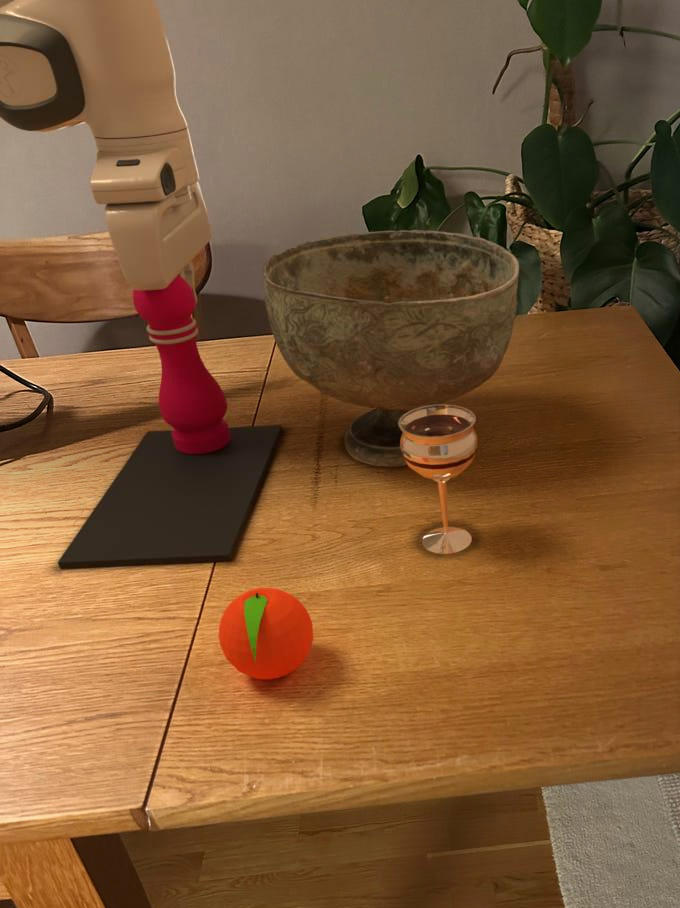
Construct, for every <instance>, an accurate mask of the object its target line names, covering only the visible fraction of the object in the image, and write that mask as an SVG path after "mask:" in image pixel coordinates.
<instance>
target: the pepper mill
mask: <svg viewBox="0 0 680 908" xmlns="http://www.w3.org/2000/svg"><path fill="white" fill-rule="evenodd" d="M132 301H133V306H134V308H135V311H136V313H137V314H138V316H139V317H140V318H142V319H143V320H144V321H145V322H146V323H148V324H147V326H146V332H147V333H148V339H149V341H150V342H152V343H154V344H155V346H156V349H157V351H158V354H159V359H160V365H161V376H160V377H161V378H160V383H159V391H158V407H159V412H160V416H161V418H162V420H163V421H164V422H165V423H166V424H167V425H168V426H170V427H172V428H173V429H172V430H173V431H172V437H173V440H174V444H175V447H176V449H177V450H178V451H180V452H182V453H185V454H193V455H196V454H205V453H210V452H213V451H216V450H219V449H221V448H223V447H224V446H226V445H227V444H228V443H229V442H230V440H231V435H230V431H229V427H230V426H229V422H227V421H226V420H224V417H225V416H226V414H227V412H228V401H227V398H226V395H225V392H224V391H223V388H222V387H221V386H220V384H219V382H218V381H217V379H216V378H215V377H214V376H213V375H212V374H211V372H210V371H209V370H208V368H207V367H206V366H205V364H204V361H203V360H202V357H201V354H200V351H199V348H198V344H197V337H196V336H198V334H199V329H198V327H197V321H196V319H195V318H194V317H192V316H193V313H194V311H195V308H196V305H195V297H194V294H193V291H192V289H191V287H190V285H189V284H188V283H187V282H186V281H185V280H184V279H183V278H182V277H180V276H177V277H176V278H175V279H174V280H173V281H172V282H171V283H170V284H169V286H168V287H167V288H165V289H158V290H134V289H133V291H132Z"/></svg>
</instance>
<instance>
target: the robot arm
mask: <svg viewBox="0 0 680 908" xmlns="http://www.w3.org/2000/svg"><path fill="white" fill-rule="evenodd" d="M176 77H177V75H176V70H175V65H174V61H173V57H172V53H171V49H170V44H169V41H168V38H167V34H166V31H165V27H164V23H163V20H162V17H161V13H160V10H159V8H158V5H157V1H156V0H0V119H2V120H3V121H4V122H6V123H7V124H8V125H10V126H12V127H14V128H16V129H18V130H21V131H27V132H34V133H35V132H36V133H37V132H38V133H49V132H54V131H58V130H62V129H65V128H66V129H67V128H71V127H75V126H80V125H82V124H87V125H88V127H89V129H90V130H91V132H92V136H93V139H94V142H95V146H96V149H97V152H96V154H95V155H96V156H95V157H96V161H95V162H96V163H95V166H94V169H93V171H92V174H91V176H90V180H89V185H90V189H91V193H92V196H93V199H94V201H95V203H96V204H97V205H105V207H104V219H105V224H106V228H107V231H108V234H109V238H110V241H111V244H112V247H113V250H114V253H115V255H116V258H117V262H118V264H119V266H120V269H121V272H122V275H123V276H124V279H125V281H126V282H127V283H128V285H129V286H130V287H131V288H132V289H133V291H134V290H158V289H165V288H167V287H168V286H169V284H170V283H171V282H172V281H173V280H174V279H175V278H176V277H177V276H180V277H182V278H183V279H184V280H185V281H186V282H187V283H188V284H189V285H190V287H191V289H192V291H193V294H194V297H195V306H196V305H197V304H198V301H199V299H198V298H197V297H198V296H197V292H196V289H195V288H196V287H195V283H196V282H195V266H194V261H193V260H194V259H195V257H196V256H198V255H199V253H200V252H202V250H203V249H204V248H205V247H206V246H207V245H208V244H209V243H210V241H211V239H212V228H211V223H210V218H209V215H208V211H207V207H206V203H205V199H204V197H203V192H202V189H201V185H200V183H199V180H200V174H199V169H198V165H197V162H196V157H195V153H194V148H193V144H192V139H191V133H190V131H189V130H190V129H189V127H188V126H189V125H188V122H187V120H186V118H185V115H184V113H183V111H182V109H181V107H180V104H179V101H178V97H177V91H176V90H177V89H176V82H177V81H176V80H177V79H176Z"/></svg>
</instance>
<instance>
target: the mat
mask: <svg viewBox="0 0 680 908" xmlns="http://www.w3.org/2000/svg"><path fill="white" fill-rule="evenodd" d="M228 427H229V431H230V435H231V440H230V442H229V443H228V444H227V445H226V446H224V447H223V448H221V449H219V450H216V451H213V452H210V453H205V454H196V455H193V454H185V453H182V452H180V451H178V450H177V449H176V447H175V444H174V440H173V437H172V431H173V429H170V430H169V429H166V430H165V429H164V430H148V431H147V432H146V433H145V435H144V436H143V437H142V439H141V440H140V442H139V443H138V445H137V446H136V448H135V449H134V450H133V452H132V453H131V455H130V456H129V457H128V459H127V461H126V462H125V463H124V465H123V467H122V468H121V470H119V473H118V474H117V475H116V477H115V478H114V480H113V481H112V483H111V484H110V485H109V487H108V489H107V490H106V492H104V495H102V497H101V499H99V501H98V503H97V505H96V506H95V507H94V508H93V510H92V512H91V513H90V514H89V516H88V518H87V519H86V520H85V522H84V523H83V525H82V526H81V528H80V529H79V531H78V532H77V533H76V535H75V537H74V538H73V539H72V541H71V542H70V544H69V545H68V546H67V548H66V550H65V551H64V552H63V554H62V555H61V557H60V558H59V560H58V561H57V564H58V567H59V569H60V570H70V569H71V570H73V569H91V568H92V569H93V568H112V567H113V568H114V567H136V566H157V565H159V566H160V565H179V564H201V563H203V564H204V563H226V562H231V561H232V559H233V557H234V555H235V552H236V550H237V546H238V544H239V542H240V540H241V537H242V534H243V531H244V529H245V526H246V524H247V521H248V520H249V517H250V514H251V512H252V509H253V506H254V504H255V501H256V499H257V496H258V494H259V491H260V489H261V487H262V484H263V481H264V480H265V477H266V474H267V471H268V469H269V466H270V465H271V462H272V459H273V457H274V454H275V452H276V449H277V446H278V444H279V441H280V439H281V436H282V433H283V432H284V430H283V425H282V424H274V425H272V424H269V425H249V426H228Z"/></svg>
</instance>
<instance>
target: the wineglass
mask: <svg viewBox="0 0 680 908" xmlns="http://www.w3.org/2000/svg"><path fill="white" fill-rule="evenodd" d="M476 417H477V416H476V415H475V413H474V412H473V411H472V410H470V409H468V408H466V407H465V406H461V405H456V404H446V403H442V404H439V405H428V406H423V407H419V408H416V409H413V410H410V411H409V412H407V413H405V414H403V415H402V417H401V418H400V419H399V422H398V426H399V427H400V429H401V430H402V431H403V433H402V435H401V441H400V449H401V454H402V456H403V457H404V459H405V461H406V463H407V464H408V465H407V466H408V467H409V469H411V470H413V471H414V472H416V473H417V474H418V475H420V476H422V477H423V478H426V479H429V480H433V481H434V482H436V483H437V487H438V495H439V502H440V503H439V504H440V511H441V518H442V519H441V520H442V527H438V528H434V529H432V530H430V531H429V532H427V533H425V534H424V535H423V537H422V539H421V544H422V546H423V548H424V549H426V551H428V552H432V553H433V554H441V555H448V554H454V553H458V552H461V551H463V550H465V549H466V548H467V547H469V546H470V545H471V543H472V540H473V539H472V535H471V533H469V531H467V530H466V529H463V528H461V527H455V526H449V518H448V517H449V515H448V513H449V512H448V490H447V489H448V488H447V482H449V481H450V479H451V478H455V477H457V476H459V475H460V474H461V473H463V472H464V471H465V470H466V469H467V468H468V467H469V466H470V465H471V464H472V463H473V462H474V459H475V458H476V454H477V452H478V434H477V431H476V429H475V428H474V425H475V424H476V422H477V421H476V419H477V418H476Z"/></svg>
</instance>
